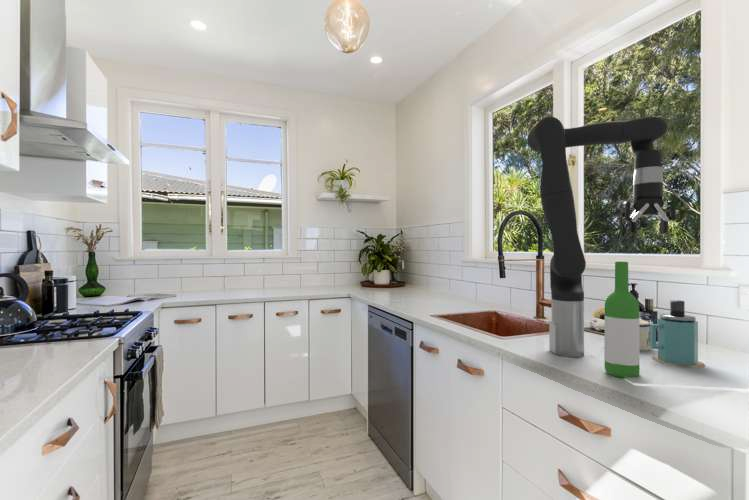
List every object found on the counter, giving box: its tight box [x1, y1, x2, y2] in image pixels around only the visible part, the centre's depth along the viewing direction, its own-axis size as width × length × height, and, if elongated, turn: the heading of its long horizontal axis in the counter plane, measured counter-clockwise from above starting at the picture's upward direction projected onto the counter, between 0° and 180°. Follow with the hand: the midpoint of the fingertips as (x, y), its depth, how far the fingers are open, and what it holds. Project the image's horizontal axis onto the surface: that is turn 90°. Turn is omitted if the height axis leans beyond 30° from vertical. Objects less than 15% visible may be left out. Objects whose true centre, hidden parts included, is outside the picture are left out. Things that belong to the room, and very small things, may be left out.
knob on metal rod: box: [659, 299, 697, 322], centre depth 107 cm, size 8×8×15 cm
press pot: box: [649, 317, 699, 366], centre depth 107 cm, size 11×8×12 cm
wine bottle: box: [603, 261, 641, 379], centre depth 98 cm, size 8×8×30 cm
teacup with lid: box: [639, 317, 651, 351], centre depth 125 cm, size 12×9×12 cm
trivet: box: [651, 354, 706, 369], centre depth 107 cm, size 12×12×1 cm
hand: (648, 234), depth 117 cm, fingers open, 8 cm apart
